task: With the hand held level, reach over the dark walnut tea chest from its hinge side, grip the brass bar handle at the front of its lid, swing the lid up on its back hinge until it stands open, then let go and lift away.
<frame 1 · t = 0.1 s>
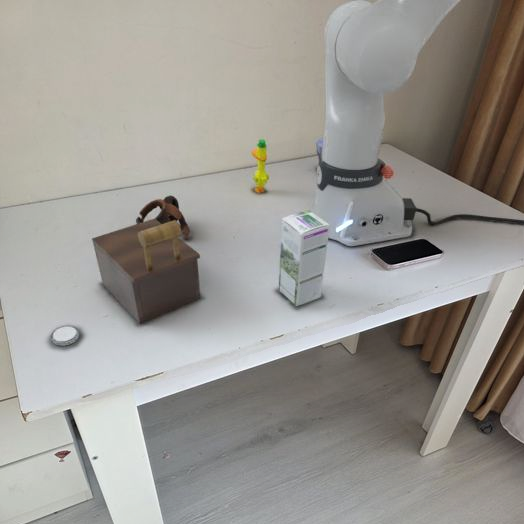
toy figure: (259, 191, 117), on the table
syrup box: (299, 295, 86), on the table
white flat disc: (66, 337, 76), on the table
potion bottle: (329, 171, 126), on the table
tea chest: (151, 290, 86), on the table
chest lid: (142, 231, 78), point 12 cm above the table, hinge at 0.0°
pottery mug: (167, 233, 101), on the table
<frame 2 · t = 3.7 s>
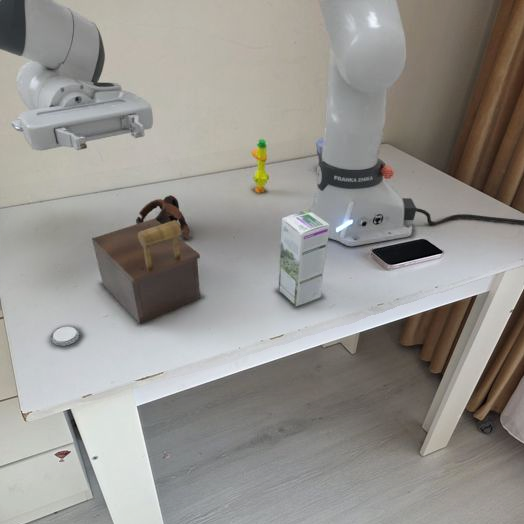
hand: (111, 138, 72), 25 cm above the table, tool horizontal, fingers open, 8 cm apart
nothing on the table moved.
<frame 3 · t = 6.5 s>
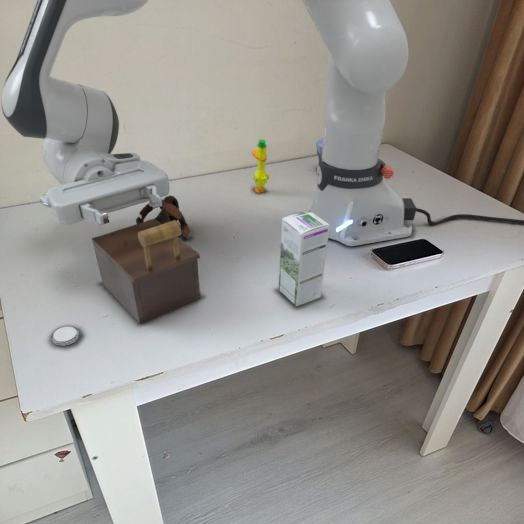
hand: (132, 211, 78), 14 cm above the table, tool horizontal, fingers open, 8 cm apart
nothing on the table moved.
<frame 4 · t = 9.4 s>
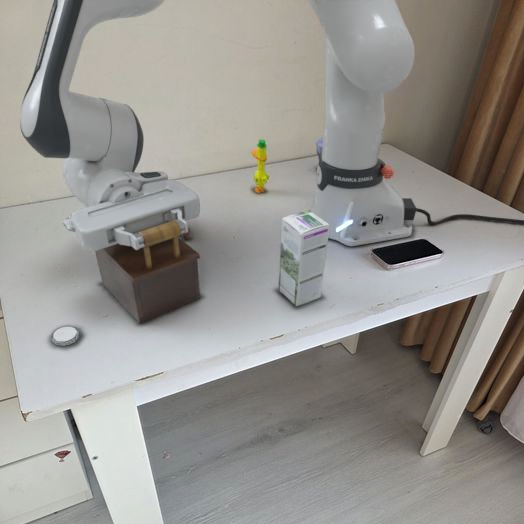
hand: (163, 236, 72), 14 cm above the table, tool horizontal, fingers closed on chest lid, 6 cm apart
chest lid: (142, 231, 78), point 12 cm above the table, hinge at 0.0°, touching gripper
everything else where it was.
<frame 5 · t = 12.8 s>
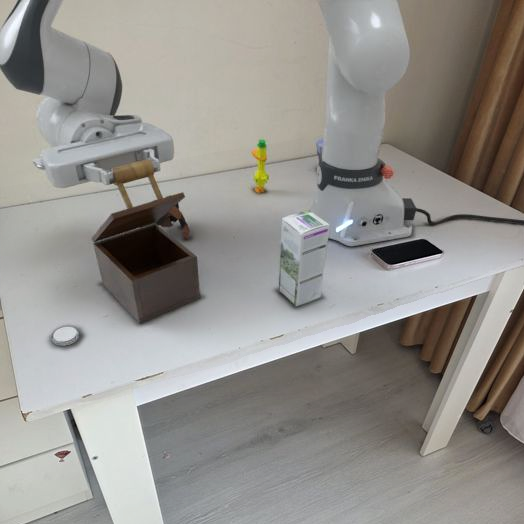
hand: (134, 173, 71), 21 cm above the table, tool horizontal, fingers closed on chest lid, 6 cm apart
chest lid: (128, 199, 77), point 16 cm above the table, hinge at 39.3°, touching gripper
everything else where it was.
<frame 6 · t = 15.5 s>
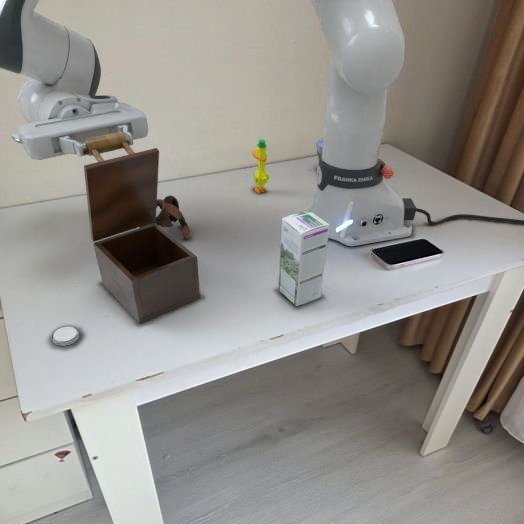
hand: (107, 145, 75), 23 cm above the table, tool horizontal, fingers closed on chest lid, 6 cm apart
chest lid: (114, 184, 79), point 17 cm above the table, hinge at 72.3°, touching gripper
everything else where it was.
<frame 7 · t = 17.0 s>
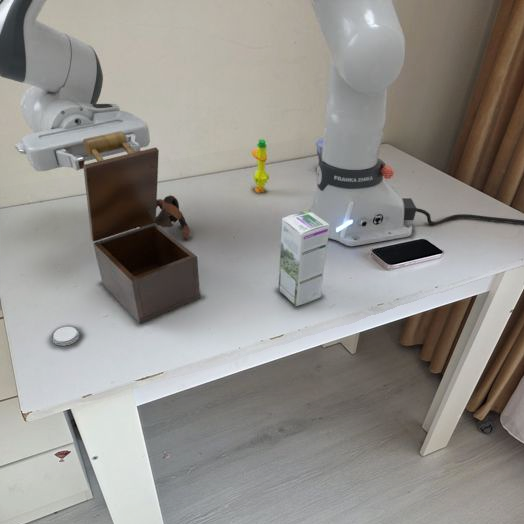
hand: (109, 157, 76), 21 cm above the table, tool horizontal, fingers open, 8 cm apart
chest lid: (114, 184, 79), point 17 cm above the table, hinge at 72.9°
everything else where it was.
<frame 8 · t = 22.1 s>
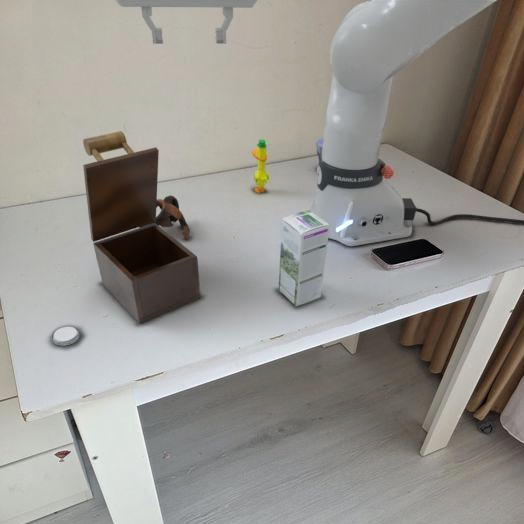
hand: (189, 43, 73), 35 cm above the table, tool pointing down, fingers open, 8 cm apart
nothing on the table moved.
at the end: chest lid at +73° (first picture: +0°); the gripper is holding nothing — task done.
